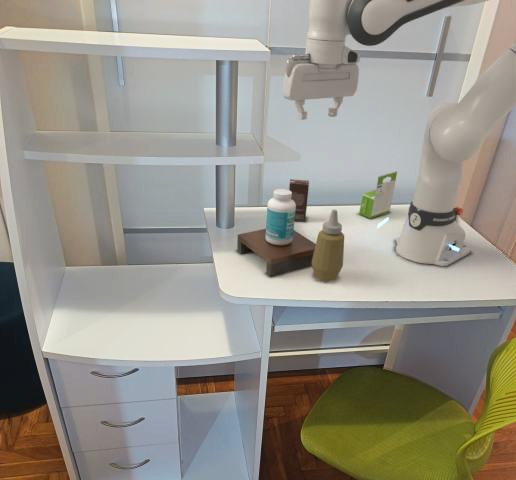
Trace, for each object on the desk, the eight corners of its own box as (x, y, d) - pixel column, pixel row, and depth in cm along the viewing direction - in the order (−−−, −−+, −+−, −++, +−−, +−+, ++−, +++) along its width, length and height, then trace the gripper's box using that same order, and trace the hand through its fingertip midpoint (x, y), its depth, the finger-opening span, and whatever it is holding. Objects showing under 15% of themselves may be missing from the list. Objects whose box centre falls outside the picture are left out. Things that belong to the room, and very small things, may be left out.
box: (305, 216, 165) (309, 179, 158) (305, 222, 161) (309, 184, 154) (287, 215, 165) (290, 178, 158) (286, 220, 162) (289, 183, 155)
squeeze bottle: (316, 285, 128) (325, 217, 118) (305, 270, 134) (312, 205, 124) (346, 282, 130) (357, 215, 120) (333, 268, 136) (343, 203, 126)
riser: (284, 240, 149) (285, 224, 146) (319, 264, 138) (321, 247, 135) (237, 251, 142) (237, 234, 139) (270, 277, 131) (271, 259, 128)
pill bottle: (290, 248, 134) (294, 198, 126) (262, 244, 135) (265, 194, 127) (294, 237, 140) (298, 188, 132) (268, 233, 141) (271, 185, 133)
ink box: (377, 207, 175) (385, 166, 166) (390, 212, 171) (399, 171, 163) (358, 214, 169) (365, 172, 161) (370, 219, 166) (378, 176, 158)
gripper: (295, 56, 110) (290, 124, 118) (366, 54, 119) (356, 117, 127) (279, 52, 114) (275, 118, 122) (348, 51, 123) (340, 112, 132)
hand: (317, 117), depth 125 cm, fingers open, 8 cm apart
